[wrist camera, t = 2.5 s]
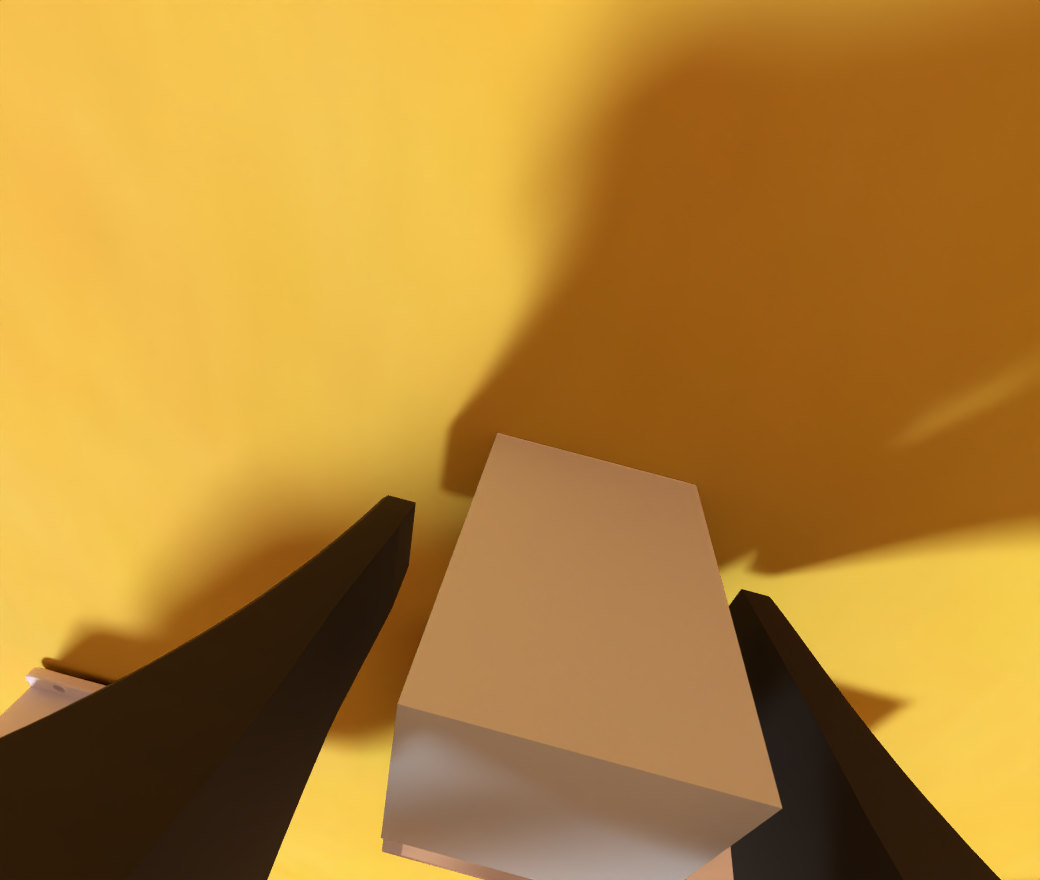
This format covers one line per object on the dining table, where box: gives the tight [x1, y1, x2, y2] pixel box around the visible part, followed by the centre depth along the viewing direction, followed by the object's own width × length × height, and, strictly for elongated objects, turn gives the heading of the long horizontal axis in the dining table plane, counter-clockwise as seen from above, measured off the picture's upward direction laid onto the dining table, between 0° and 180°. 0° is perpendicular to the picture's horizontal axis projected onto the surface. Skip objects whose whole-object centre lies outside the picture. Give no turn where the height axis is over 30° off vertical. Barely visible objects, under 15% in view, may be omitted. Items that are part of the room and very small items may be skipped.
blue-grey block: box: [381, 433, 782, 880], centre depth 9 cm, size 4×4×6 cm
